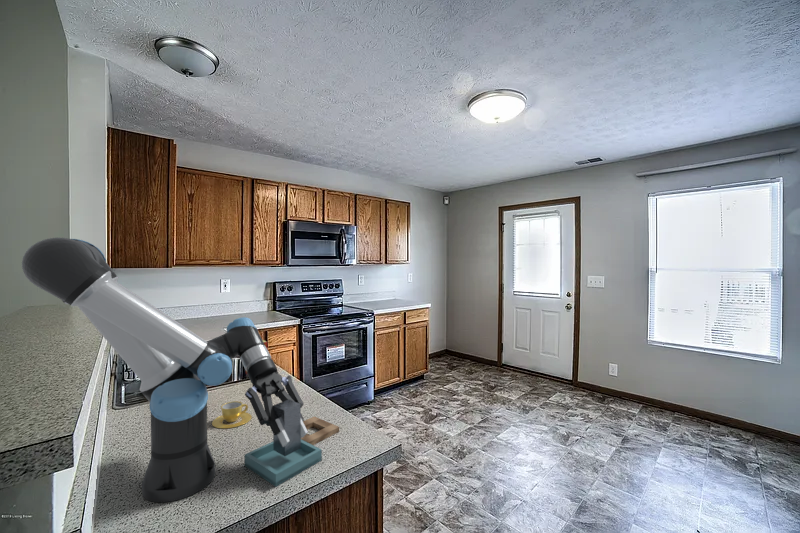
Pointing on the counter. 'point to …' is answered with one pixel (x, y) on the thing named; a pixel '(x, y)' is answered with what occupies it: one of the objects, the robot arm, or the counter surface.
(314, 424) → the socket plate
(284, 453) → the grey rectangular block
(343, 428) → the counter surface
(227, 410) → the cup
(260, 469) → the tray
